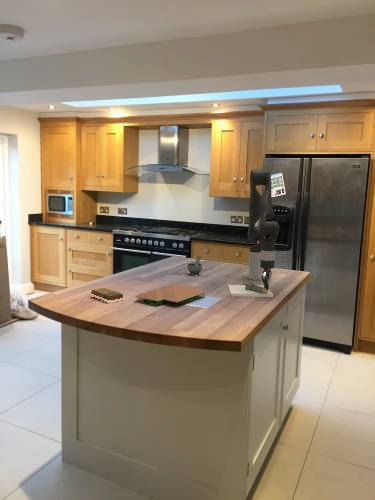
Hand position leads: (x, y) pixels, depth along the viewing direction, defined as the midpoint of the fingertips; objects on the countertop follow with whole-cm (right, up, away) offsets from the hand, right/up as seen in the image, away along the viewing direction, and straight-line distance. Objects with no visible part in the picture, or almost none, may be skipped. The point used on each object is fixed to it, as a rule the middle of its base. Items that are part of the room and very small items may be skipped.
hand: (266, 290), depth 229 cm
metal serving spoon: (-5, 0, +2) cm, 6 cm away
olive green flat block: (-83, -3, -14) cm, 84 cm away
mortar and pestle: (-37, +5, +48) cm, 61 cm away
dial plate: (-8, -1, +6) cm, 10 cm away
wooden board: (-50, -4, -11) cm, 51 cm away
